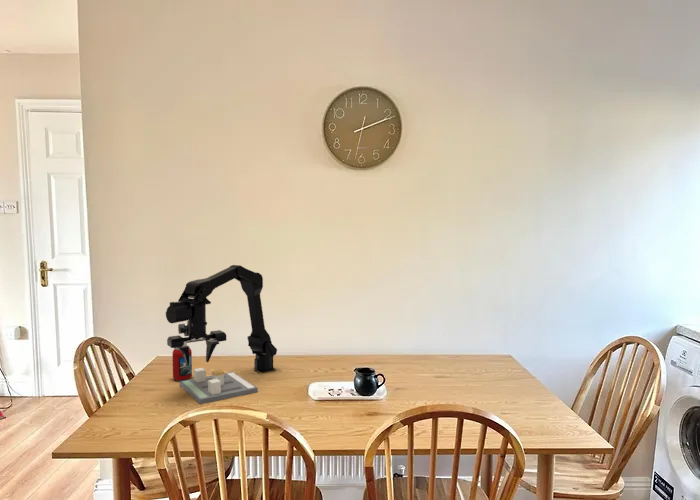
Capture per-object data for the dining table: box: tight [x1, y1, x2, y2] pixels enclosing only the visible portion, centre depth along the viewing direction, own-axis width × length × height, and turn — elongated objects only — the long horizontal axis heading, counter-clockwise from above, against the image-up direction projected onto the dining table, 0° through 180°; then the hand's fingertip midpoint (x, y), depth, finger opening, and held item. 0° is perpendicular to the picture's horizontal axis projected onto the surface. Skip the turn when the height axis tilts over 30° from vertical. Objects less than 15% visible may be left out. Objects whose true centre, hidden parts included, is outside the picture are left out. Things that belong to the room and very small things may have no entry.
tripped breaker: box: [211, 369, 225, 385], centre depth 175 cm, size 3×4×4 cm
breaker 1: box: [193, 367, 206, 383], centre depth 179 cm, size 3×4×4 cm
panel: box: [179, 371, 259, 405], centre depth 175 cm, size 20×22×2 cm
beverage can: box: [172, 345, 193, 382], centre depth 185 cm, size 7×7×12 cm
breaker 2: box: [208, 379, 221, 395], centre depth 166 cm, size 3×4×4 cm
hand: (197, 363), depth 171 cm, fingers open, 6 cm apart
